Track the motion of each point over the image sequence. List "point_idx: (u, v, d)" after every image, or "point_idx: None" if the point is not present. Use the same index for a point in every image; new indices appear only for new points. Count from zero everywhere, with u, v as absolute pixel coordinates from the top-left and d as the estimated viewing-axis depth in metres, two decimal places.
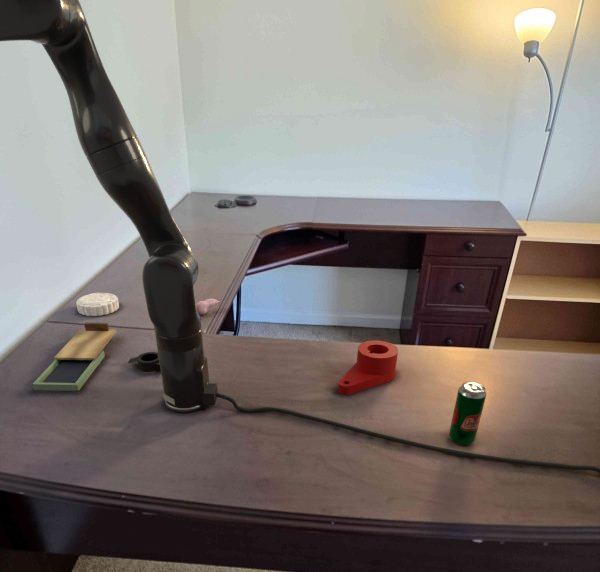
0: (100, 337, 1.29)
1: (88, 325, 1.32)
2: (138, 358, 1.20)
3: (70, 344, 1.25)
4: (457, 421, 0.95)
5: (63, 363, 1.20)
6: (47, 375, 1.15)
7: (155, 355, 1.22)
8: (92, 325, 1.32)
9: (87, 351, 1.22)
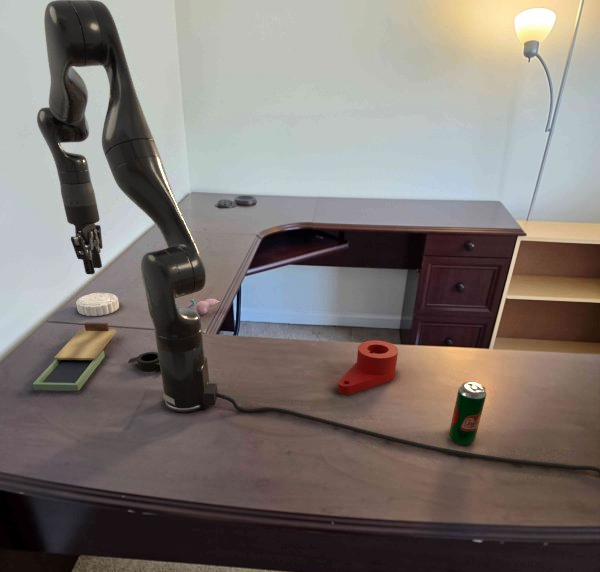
0: (100, 337, 1.29)
1: (88, 325, 1.32)
2: (138, 358, 1.20)
3: (70, 344, 1.25)
4: (457, 421, 0.95)
5: (63, 363, 1.20)
6: (47, 375, 1.15)
7: (155, 355, 1.22)
8: (92, 325, 1.32)
9: (87, 351, 1.22)
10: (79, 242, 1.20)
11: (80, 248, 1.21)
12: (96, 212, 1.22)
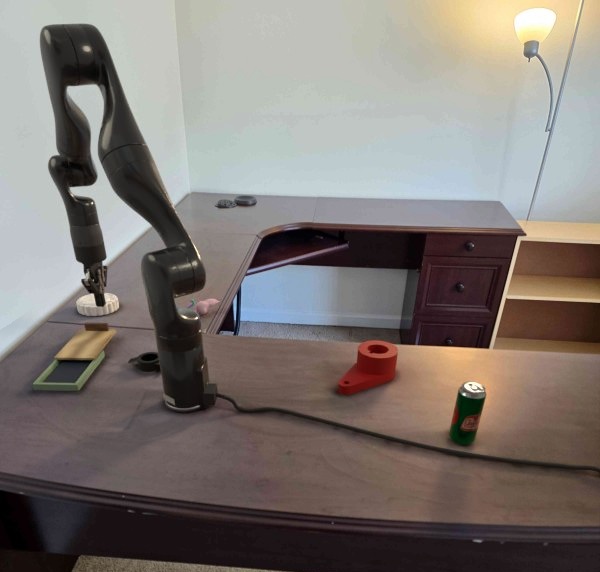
0: (100, 337, 1.29)
1: (88, 325, 1.32)
2: (138, 358, 1.20)
3: (70, 344, 1.25)
4: (457, 421, 0.95)
5: (63, 363, 1.20)
6: (47, 375, 1.15)
7: (155, 355, 1.22)
8: (92, 325, 1.32)
9: (87, 351, 1.22)
10: (89, 284, 1.26)
11: (91, 287, 1.28)
12: (103, 251, 1.27)
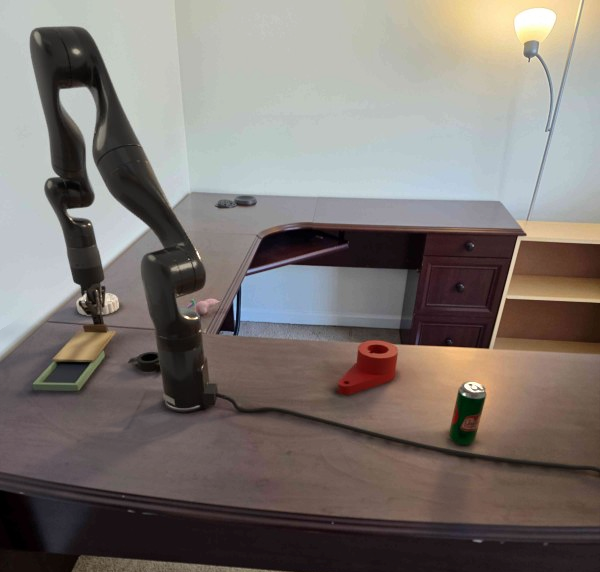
0: (99, 339, 1.28)
1: (87, 326, 1.31)
2: (138, 358, 1.19)
3: (68, 346, 1.25)
4: (457, 421, 0.95)
5: (63, 363, 1.20)
6: (47, 375, 1.15)
7: (155, 355, 1.22)
8: (91, 326, 1.31)
9: (85, 353, 1.21)
10: (87, 306, 1.25)
11: (88, 309, 1.26)
12: (101, 272, 1.25)
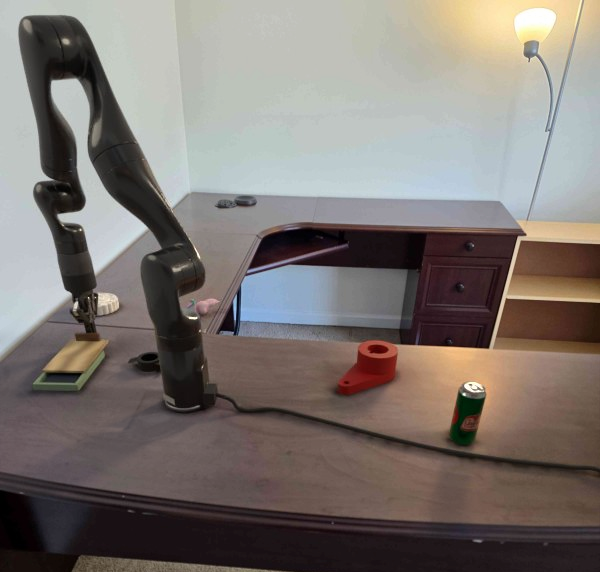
0: (91, 348, 1.24)
1: (79, 335, 1.26)
2: (138, 358, 1.20)
3: (59, 356, 1.20)
4: (457, 421, 0.95)
5: None
6: (47, 375, 1.15)
7: (155, 355, 1.22)
8: (83, 335, 1.26)
9: (77, 363, 1.17)
10: (78, 314, 1.20)
11: (80, 317, 1.21)
12: (93, 279, 1.21)
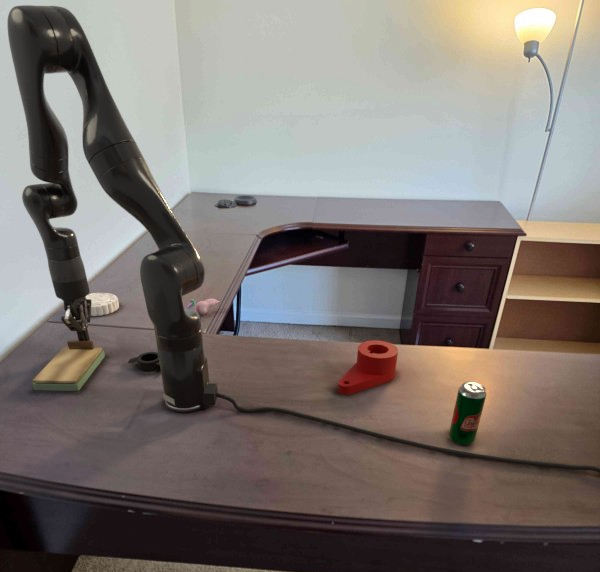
0: (84, 357, 1.20)
1: (71, 343, 1.22)
2: (138, 358, 1.20)
3: (51, 365, 1.16)
4: (457, 421, 0.95)
5: None
6: None
7: (155, 355, 1.22)
8: (76, 343, 1.22)
9: (68, 373, 1.13)
10: (70, 322, 1.16)
11: (72, 325, 1.17)
12: (86, 285, 1.17)
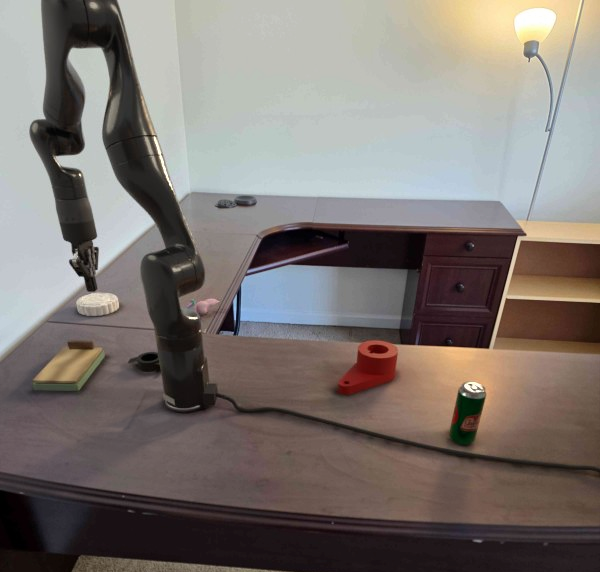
0: (84, 357, 1.20)
1: (71, 343, 1.22)
2: (138, 358, 1.19)
3: (51, 365, 1.16)
4: (457, 421, 0.95)
5: None
6: None
7: (155, 355, 1.22)
8: (76, 343, 1.22)
9: (69, 373, 1.13)
10: (78, 265, 1.14)
11: (80, 269, 1.16)
12: (93, 228, 1.15)
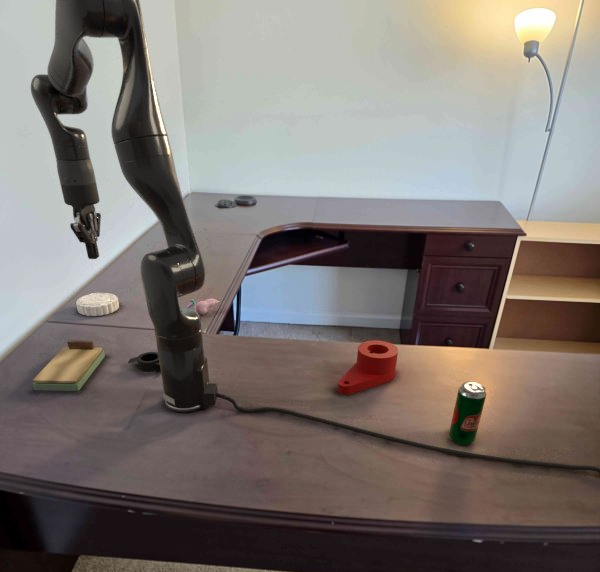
0: (84, 357, 1.20)
1: (71, 343, 1.22)
2: (138, 358, 1.20)
3: (51, 365, 1.16)
4: (457, 421, 0.95)
5: None
6: None
7: (155, 355, 1.22)
8: (76, 343, 1.22)
9: (69, 373, 1.13)
10: (80, 229, 1.11)
11: (82, 234, 1.13)
12: (96, 192, 1.12)
